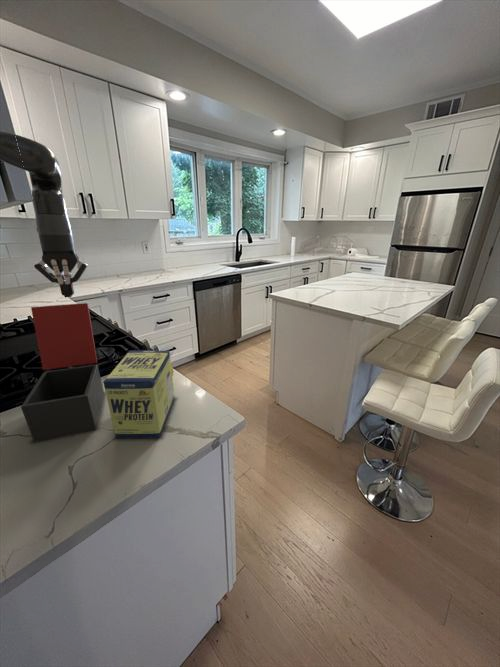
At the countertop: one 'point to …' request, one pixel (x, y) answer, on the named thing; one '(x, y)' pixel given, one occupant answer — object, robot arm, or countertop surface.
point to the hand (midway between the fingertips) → (68, 296)
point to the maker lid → (64, 335)
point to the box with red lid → (64, 402)
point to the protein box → (140, 394)
